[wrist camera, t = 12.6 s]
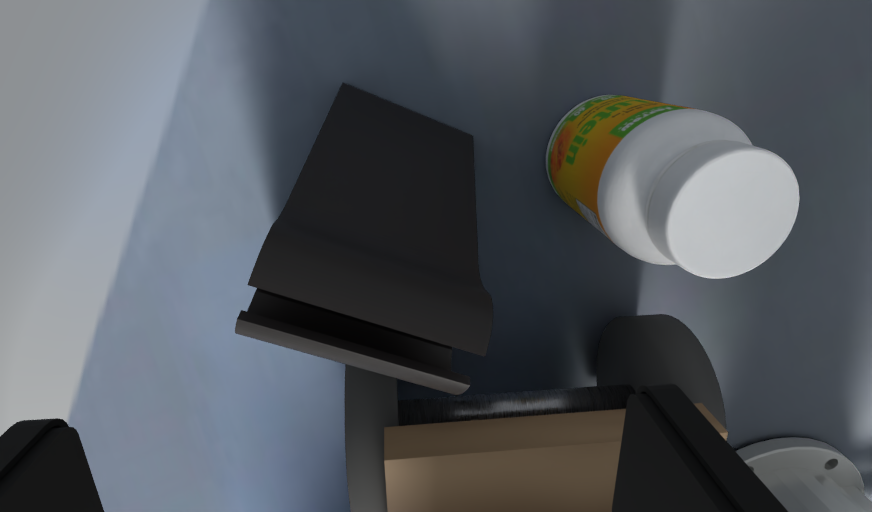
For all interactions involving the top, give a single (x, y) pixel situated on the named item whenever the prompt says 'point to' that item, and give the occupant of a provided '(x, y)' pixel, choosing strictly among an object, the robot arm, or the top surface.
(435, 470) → the trolley
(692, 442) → the robot arm
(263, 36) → the top surface
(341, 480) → the top surface
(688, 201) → the supplement bottle
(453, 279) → the phone stand
